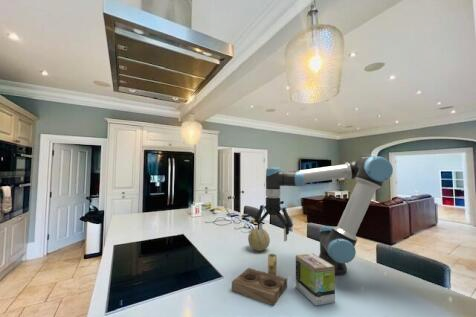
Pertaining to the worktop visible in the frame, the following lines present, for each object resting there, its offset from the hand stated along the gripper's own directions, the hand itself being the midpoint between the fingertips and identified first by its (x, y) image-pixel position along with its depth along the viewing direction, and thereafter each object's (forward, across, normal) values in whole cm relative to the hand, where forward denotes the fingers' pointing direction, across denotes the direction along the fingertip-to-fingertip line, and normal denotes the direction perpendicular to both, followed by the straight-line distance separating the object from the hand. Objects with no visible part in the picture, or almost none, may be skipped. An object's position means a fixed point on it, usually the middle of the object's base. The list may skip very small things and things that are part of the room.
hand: (272, 238), depth 111 cm
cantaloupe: (+19, -21, +28) cm, 40 cm away
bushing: (+19, 0, 0) cm, 19 cm away
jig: (+19, 0, -15) cm, 24 cm away
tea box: (+19, +22, -6) cm, 29 cm away
